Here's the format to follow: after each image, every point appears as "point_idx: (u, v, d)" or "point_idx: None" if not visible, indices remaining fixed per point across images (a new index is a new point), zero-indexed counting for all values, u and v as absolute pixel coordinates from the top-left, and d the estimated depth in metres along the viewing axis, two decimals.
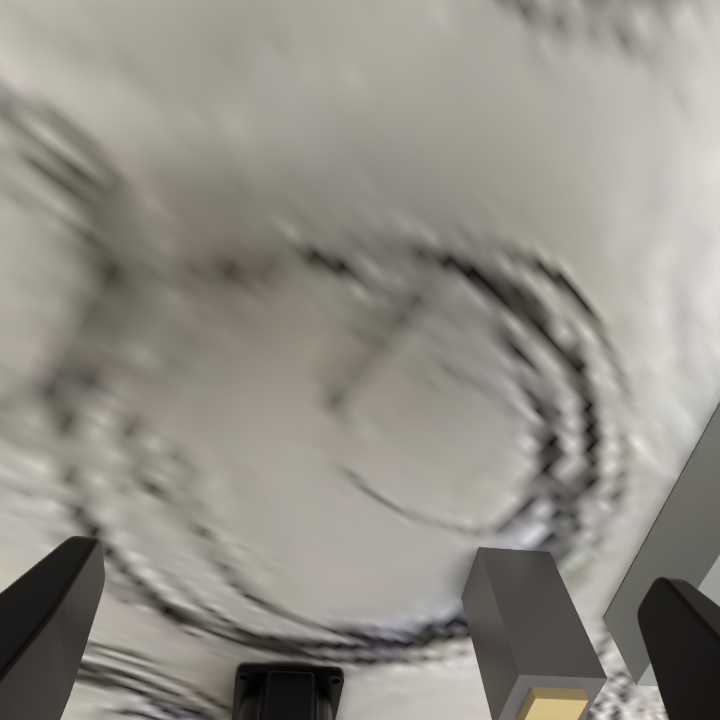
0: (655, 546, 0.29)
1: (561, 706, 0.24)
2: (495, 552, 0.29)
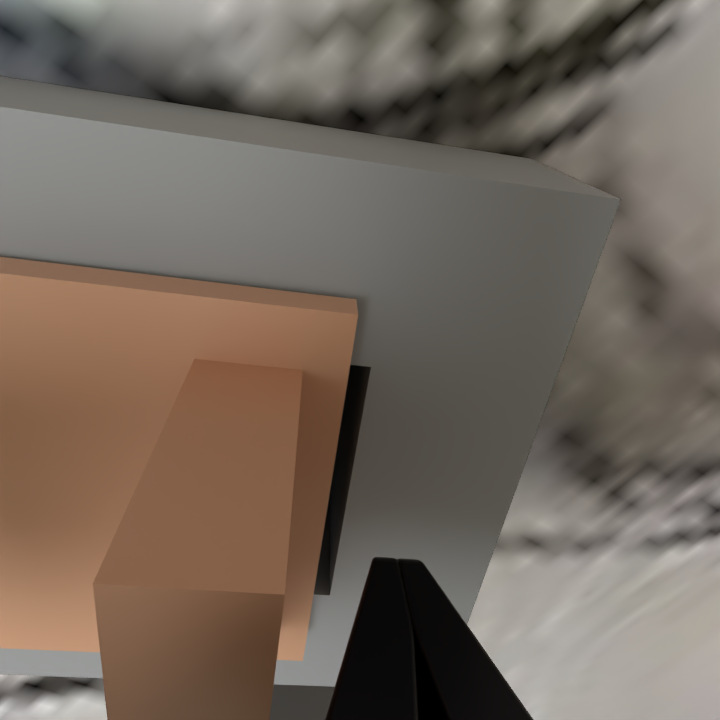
0: None
1: None
2: None
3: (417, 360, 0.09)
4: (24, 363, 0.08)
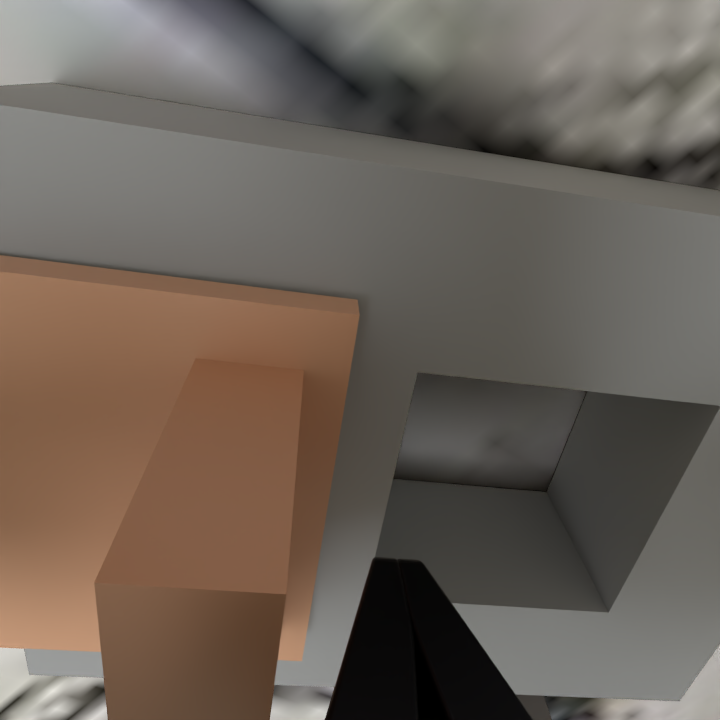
0: None
1: None
2: None
3: None
4: (25, 362, 0.08)
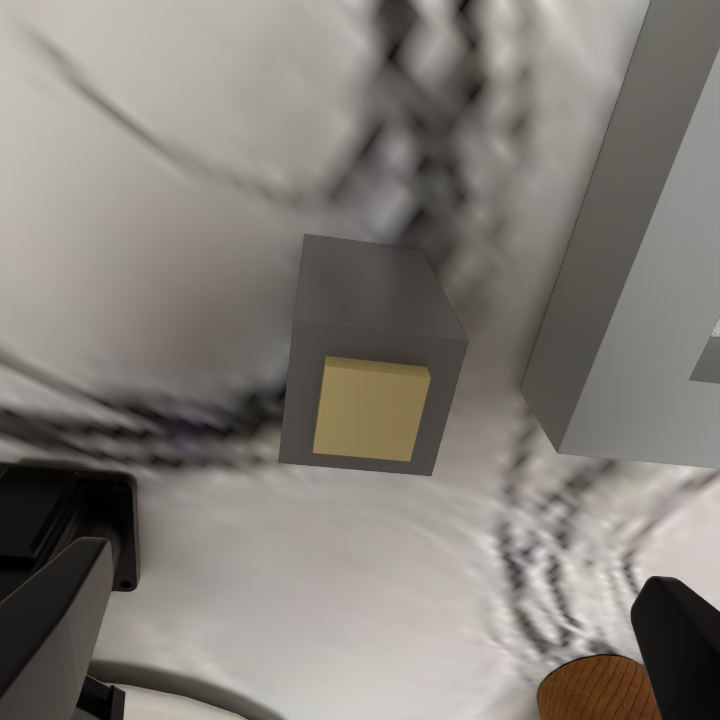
0: (587, 223, 0.18)
1: (381, 392, 0.13)
2: (329, 239, 0.18)
3: None
4: None
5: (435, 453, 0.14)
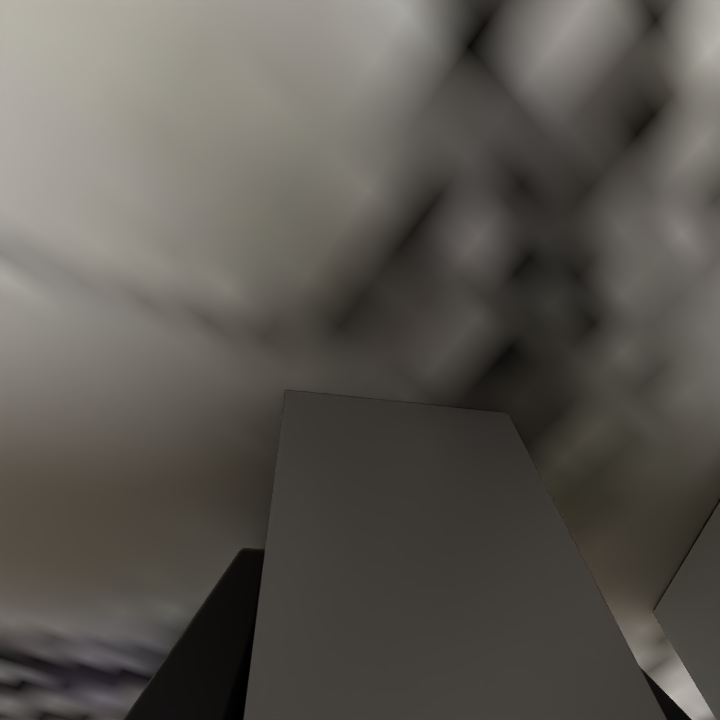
0: None
1: None
2: (333, 404, 0.09)
3: None
4: None
5: None
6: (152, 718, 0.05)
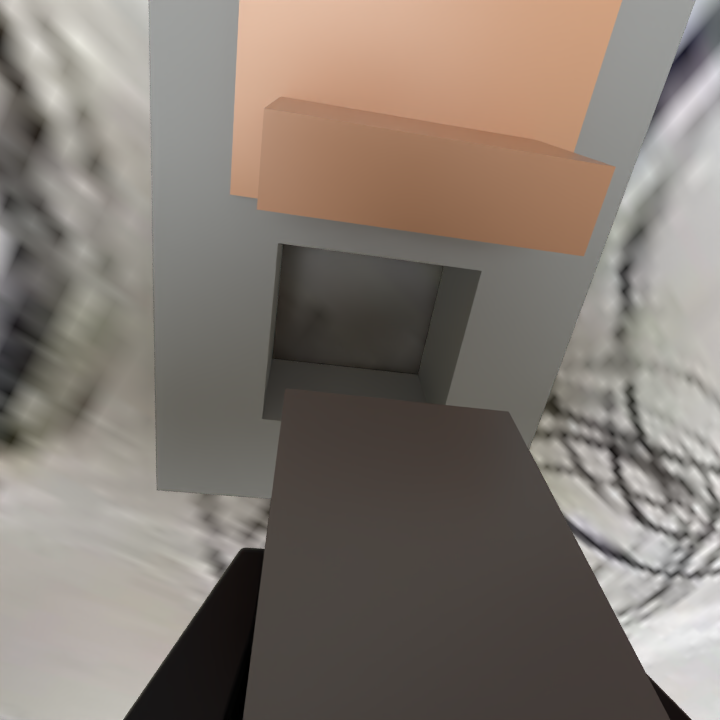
0: None
1: None
2: (333, 402, 0.09)
3: None
4: (553, 18, 0.12)
5: None
6: (152, 718, 0.05)
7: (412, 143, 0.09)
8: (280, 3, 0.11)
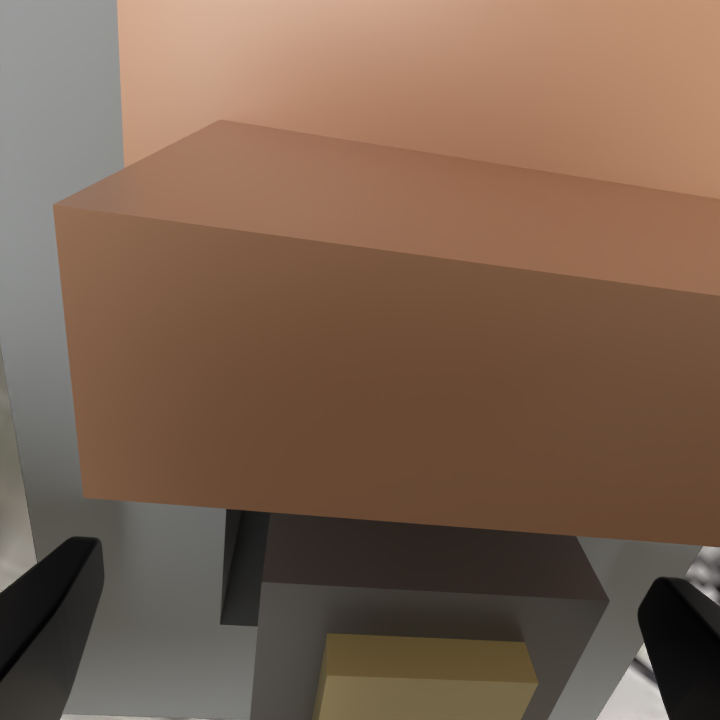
0: None
1: (438, 706, 0.06)
2: None
3: None
4: None
5: None
6: None
7: (589, 311, 0.03)
8: None
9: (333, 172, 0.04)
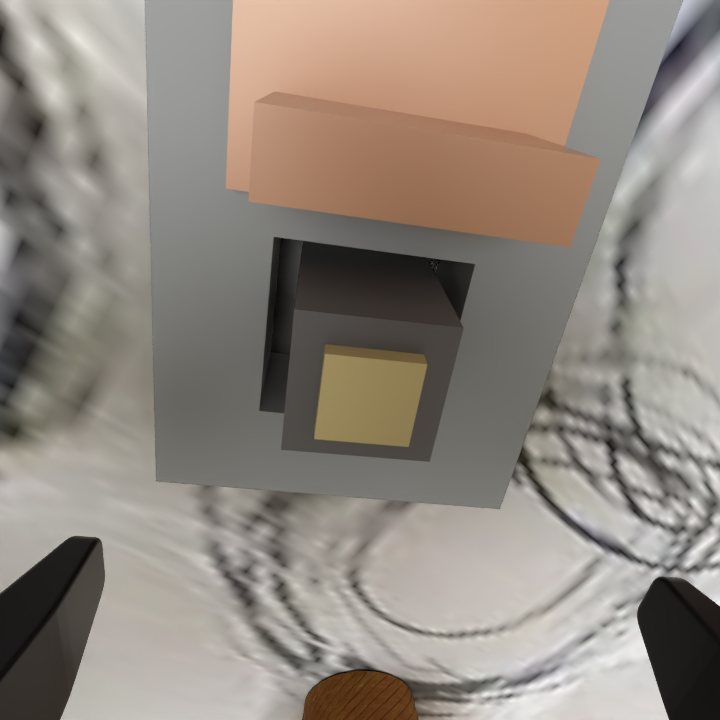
0: None
1: (379, 378, 0.13)
2: None
3: (434, 447, 0.18)
4: (543, 12, 0.12)
5: (433, 439, 0.14)
6: None
7: (399, 136, 0.09)
8: None
9: (327, 106, 0.11)
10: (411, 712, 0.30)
